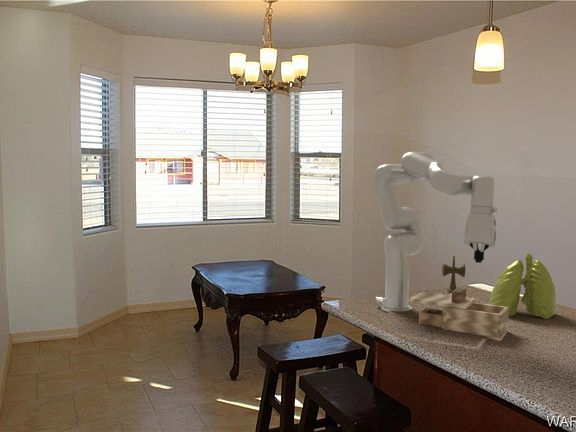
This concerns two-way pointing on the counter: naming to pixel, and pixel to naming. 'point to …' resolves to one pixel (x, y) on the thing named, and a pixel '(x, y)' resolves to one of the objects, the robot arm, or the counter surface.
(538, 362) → the counter surface
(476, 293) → the counter surface
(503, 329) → the wooden box
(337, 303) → the counter surface
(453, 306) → the lid
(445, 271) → the kendama
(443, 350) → the counter surface
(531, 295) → the lungs
